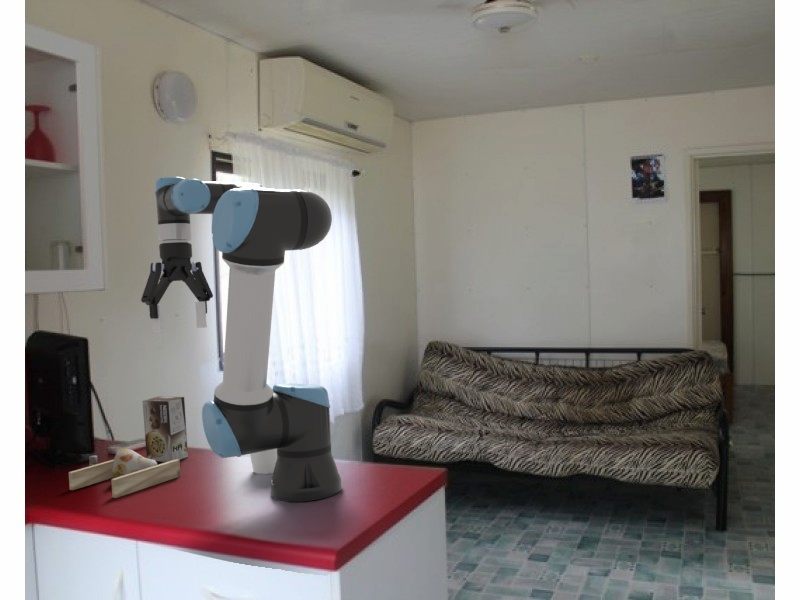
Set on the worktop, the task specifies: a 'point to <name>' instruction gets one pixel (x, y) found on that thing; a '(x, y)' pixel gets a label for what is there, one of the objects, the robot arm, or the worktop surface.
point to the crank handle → (93, 460)
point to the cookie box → (165, 428)
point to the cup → (264, 461)
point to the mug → (130, 463)
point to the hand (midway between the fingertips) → (180, 330)
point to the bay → (124, 477)
